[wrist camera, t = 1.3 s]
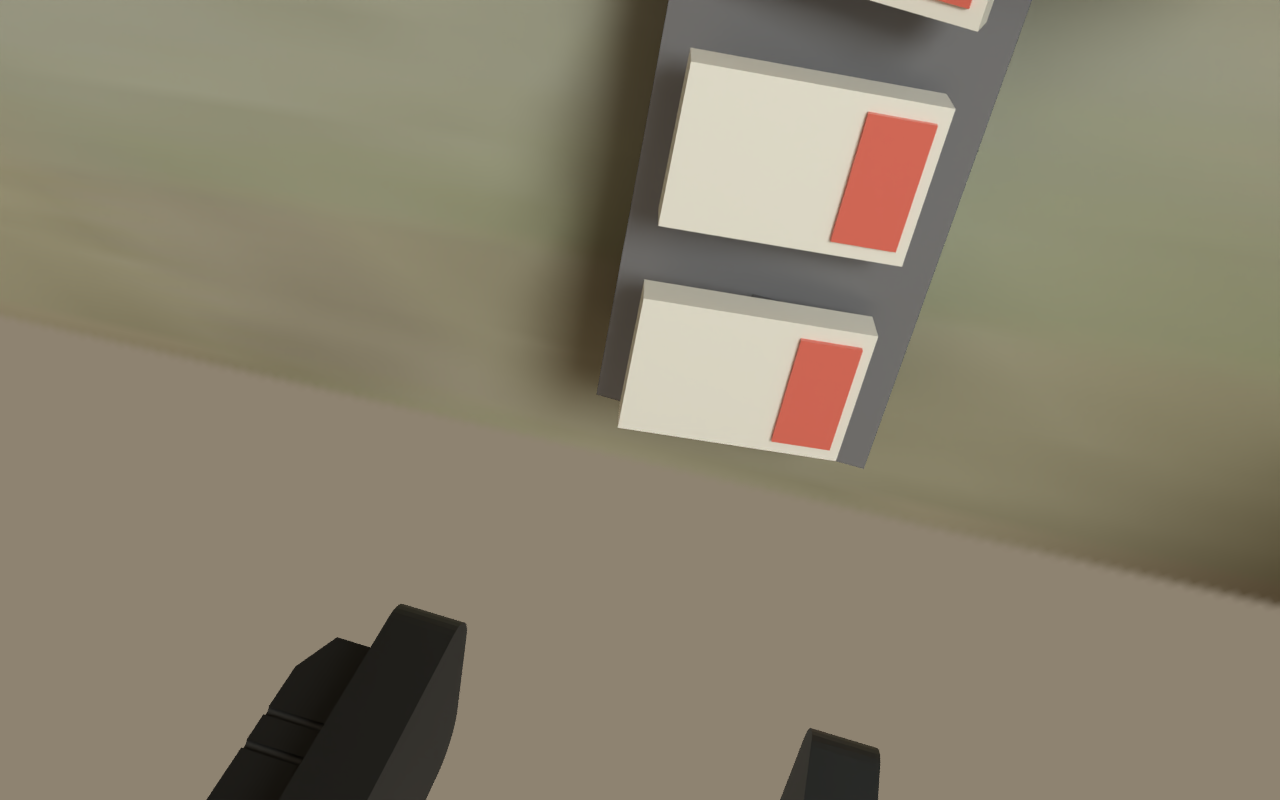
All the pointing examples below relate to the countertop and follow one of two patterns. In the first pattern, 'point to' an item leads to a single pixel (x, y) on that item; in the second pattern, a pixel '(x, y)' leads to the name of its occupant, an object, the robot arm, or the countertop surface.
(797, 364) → the rocker
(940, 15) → the rocker
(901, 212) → the rocker middle
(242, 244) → the countertop surface
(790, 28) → the power strip
